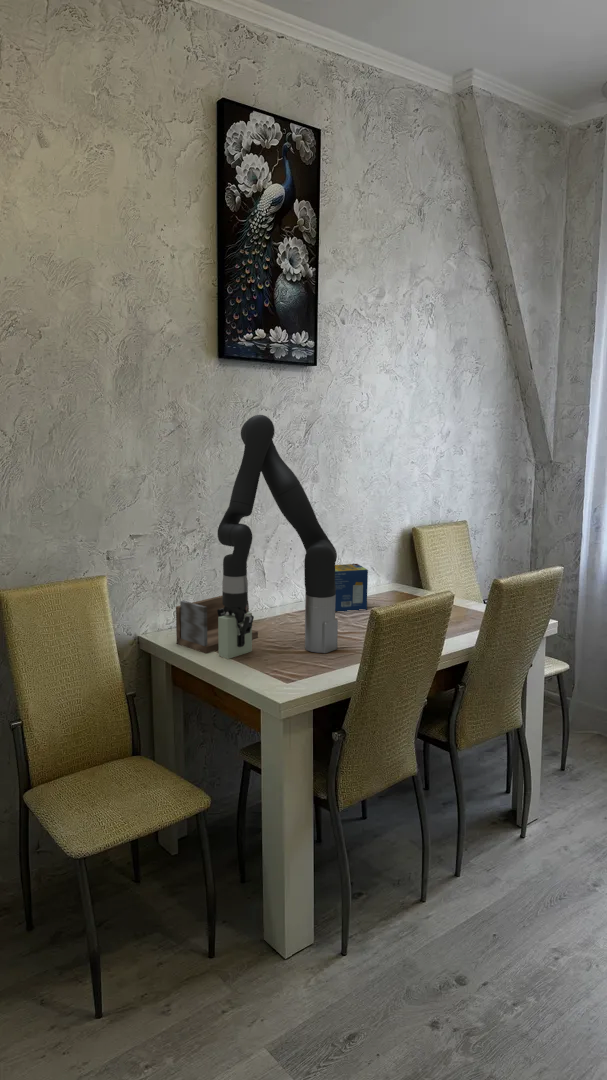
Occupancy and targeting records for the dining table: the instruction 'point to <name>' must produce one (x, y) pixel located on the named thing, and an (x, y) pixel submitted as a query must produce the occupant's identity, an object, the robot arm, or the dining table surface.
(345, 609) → the protein box
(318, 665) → the dining table surface
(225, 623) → the sage green tall block
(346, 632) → the dining table surface
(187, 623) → the bookshelf
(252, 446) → the robot arm
